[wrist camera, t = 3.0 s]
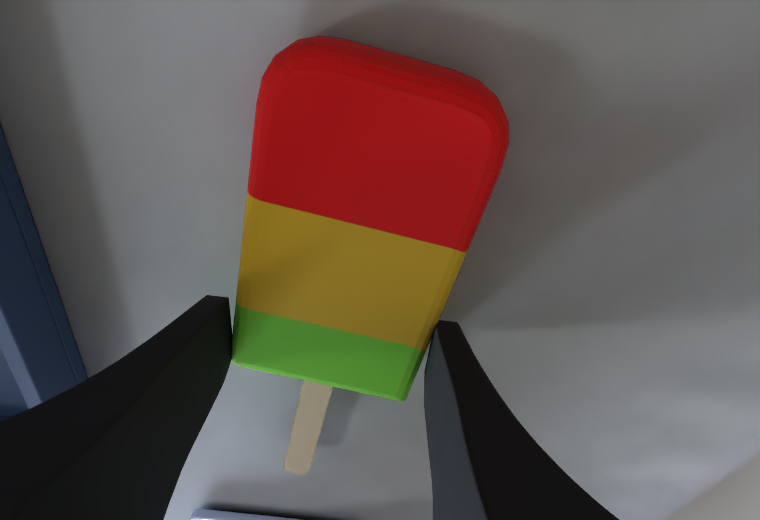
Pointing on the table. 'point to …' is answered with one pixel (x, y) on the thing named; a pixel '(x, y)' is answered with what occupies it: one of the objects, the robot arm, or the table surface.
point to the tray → (29, 309)
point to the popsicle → (357, 219)
